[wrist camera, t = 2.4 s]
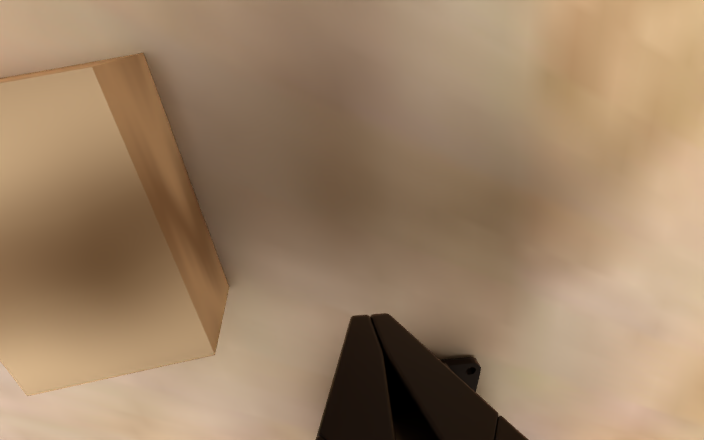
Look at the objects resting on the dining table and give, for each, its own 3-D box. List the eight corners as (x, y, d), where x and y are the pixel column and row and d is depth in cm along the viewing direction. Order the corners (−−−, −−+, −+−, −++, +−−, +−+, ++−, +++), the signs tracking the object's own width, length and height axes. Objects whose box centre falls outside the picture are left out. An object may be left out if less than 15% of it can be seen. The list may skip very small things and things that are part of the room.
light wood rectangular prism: (230, 283, 17) (214, 354, 13) (82, 314, 17) (27, 396, 13) (145, 52, 13) (92, 66, 9) (-53, 87, 12) (-188, 116, 9)
